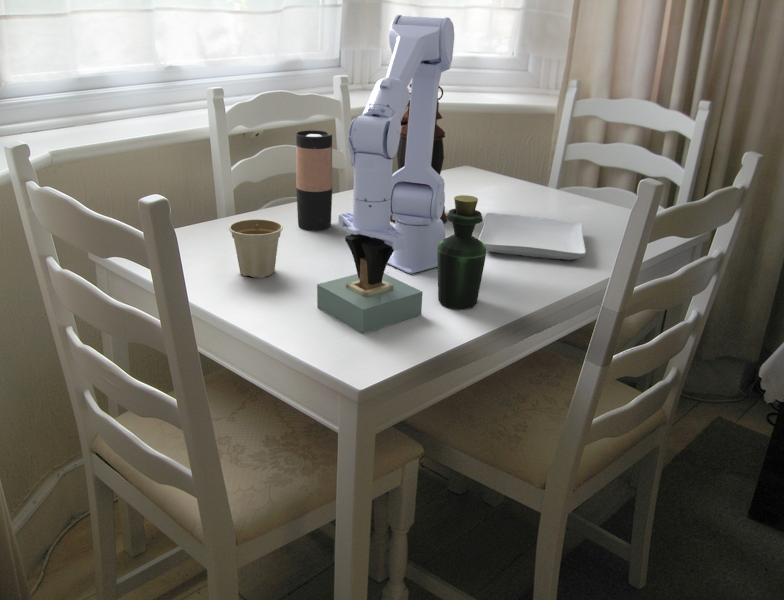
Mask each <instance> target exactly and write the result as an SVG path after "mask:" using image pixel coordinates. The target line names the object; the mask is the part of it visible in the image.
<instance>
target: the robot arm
mask: <svg viewBox="0 0 784 600" xmlns="http://www.w3.org/2000/svg"><path fill="white" fill-rule="evenodd" d="M389 26H390V27H389V30H388V32H389V33H388V41H389V42H388V43H389V48H390V50H391V59H390V61H389V65H388V68H387V72H386V74H385V77H383V78H380V79H379V80H377V81H376V83H375V84H374V86H373V89H372V90H371V92H370V96H369V98H368V100H367V103H366V105H365V107H364V110H363V112H362V114H360V115H358V116H357V117H355V118H353V119H352V120H351V122H350V125H349V129H348V136H347V146H348V149H349V153H350V163H351V164H350V165H351V166H352V167H353V201H352V202H353V204H352V207H353V208H352V210H353V211H352V213H350V212H345V213H340V214H338V227H341V228H347V233H349V234H347V235H345V237H344V241H345V243H346V244H347V246H348V247H349V250H350V252H351V255H352V257H353V260H354V265H355V268H356V274H358V277H359V279H360V258H364V257H366V261H367V276H368V282H369V284H371V285H373V284H377V283H380V282H381V281H382V277H383V274H384V272H385V271H386V267H387V265H390V266H391V267H394V268H397V269H399V270H401V271H403V272H405V273H407V274H416V273H419V272H422V271H423V272H424V271H427V270H430V269H434V268H438V261H437V248H438V245H439V243H440V242H441V241H442V240H443V239H445V238H446V233H447V232H446V226H445V224H444V223H443V222H442V220H441V219H440V217H441V216H442V213H443V209H444V206H445V202H446V194H445V193H446V192H445V179H444V178H443V177H442V176H441V174H440V175H439V174H438V173H437V172H436V171H435V170H434V169H433V168H432V167H431V161H432V150H433V140H434V130H435V119H436V109H437V98H439V97H438V96H439V89H440V88H439V86H440V81H441V76H442V73H444V72H446V71H449V70H450V69H451V65H452V62H453V54H454V47H455V46H454V45H455V27H454V23H453V21H452V20H451V18H450V17H425V16H412V15H411V16H410V15H402V14H396V15H395V16H394V18H393V19H392V20H391V23H390V25H389ZM410 84H412V87H410V88H411V89H410V90H411V91H410V90H409V87H408V86H409V85H410ZM438 88H439V89H438ZM410 93H411V99H410ZM409 100H410V111H409V122H408V134H407V146H406V158H405V166H404V167H403V168H401V169H399V170H396V171H395V172H393V165H394V164H393V163H394V161H393V160H394V159H393V158H394V157H395V156H396V155H397V151H398V146H399V141H400V133H401V129H402V126H401V120H402V118H403V115H404V114H405V113H406V111H407V109H408V107H407V105H408V103H409ZM403 181H404V182H412V183H420V184H427V185H429V186H426V185H418V184H410V183H402V182H403ZM390 215H393V217H392V219H393V220H395V223H394V226H393V225H392V224H391V221H390ZM392 254H393V256H392Z"/></svg>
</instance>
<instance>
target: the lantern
mask: <svg viewBox="0 0 784 600" xmlns="http://www.w3.org/2000/svg"><path fill="white" fill-rule="evenodd" d="M408 86H409V87H408V88H411V87H412V83H409V85H408ZM438 90H440V91H441V94H440V96H439V97H438V98H437V109H436V119H435V130H434V140H433V150H432V161H431V167H432V168H433V169H434V170H435V171H436V172H437V173H438V174H439V175H440V176H441V172H442V169H443V164H444V159H445V152H444V151H445V150H444V141H443V139H444V138H446V132H445V130H443V128H442V127H440V126H439V125H438V123H437V122H438V120H442V119H443V116H442V115H441V114H440V112H439V106H440V102H439V101H440V100H441V99H442V97H443V95H444V90H443V88H442V87H441V86H440V85H439V88H438ZM410 99H411V92H410ZM409 111H410V100H409V103H408V105H407V110H406V111H405V113H404V115H403V118H402V120H401V128H402V129H401V133H400V140H399V146H398V150H397V152H396V159H397V169H398V170H399V169H401V168H403V167H404V166H405V158H406V146H407V134H408V122H409ZM398 170H397V171H398ZM402 183H410V184H418V185H426V186H429V185H427V184H420V183H412V182H404V181H403V182H402ZM445 210H446V207H445V205H444V209H443V213H442V216H441V217H440V219H441V220H442V222H443V223H444V225H445V224H447V221H448V220H447V219H446V218H447V214H446V213H445V212H446V211H445ZM392 217H393V215H390V223H393V224H395V220H393V219H392Z"/></svg>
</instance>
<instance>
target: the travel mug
mask: <svg viewBox="0 0 784 600" xmlns="http://www.w3.org/2000/svg"><path fill="white" fill-rule="evenodd" d="M295 134H296V135H295V146H296V147H295V150H296V151H295V169H296V170H295V171H296V172H295V175H296V176H295V177H296V180H295V181H296V183H295V184H296V185H295V186H296V187H295V188H296V189H295V190H296V204H297V205H296V207H297V208H296V209H297V211H296V212H297V226H298V227H299V228H300V229H301V230H304V231H308V232H309V231H311V232H320V231H325V230H328V229H330V228H331V226H332V225H331V224H332V204H333V133H332V134H329V133H328V132H327V131H324V130H315V129H314V130H312V129H311V130H310V129H309V130H302V131H297V132H296V133H295Z"/></svg>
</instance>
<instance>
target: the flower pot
mask: <svg viewBox="0 0 784 600" xmlns="http://www.w3.org/2000/svg"><path fill="white" fill-rule="evenodd" d="M283 229H284V225H283V224H282V223H280V222H278V221H275V220H271V219H262V218H250V219H249V218H248V219H243V220H238V221H234V222H232V223H230V224H229V226H228V230H229V232H230V233H231V237H232V239H233V241H234V247H235V251H236V257H237V261H238V268H239V269H238V270H239V273H240V274H241V275H242V276H245V277H247V276H248V277H249V276H250V277H252V278H253V279H254V278H258V279H259V278H264V277H269V276H271V275H272V274H274V273H275V271H276V261H277V253H278V247H279V239H280V237H281V232H282V231H283Z"/></svg>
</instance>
